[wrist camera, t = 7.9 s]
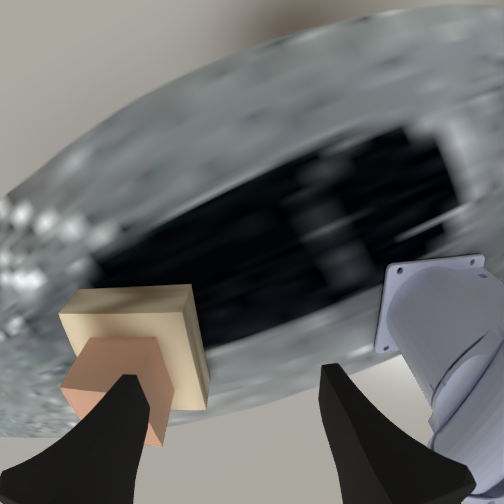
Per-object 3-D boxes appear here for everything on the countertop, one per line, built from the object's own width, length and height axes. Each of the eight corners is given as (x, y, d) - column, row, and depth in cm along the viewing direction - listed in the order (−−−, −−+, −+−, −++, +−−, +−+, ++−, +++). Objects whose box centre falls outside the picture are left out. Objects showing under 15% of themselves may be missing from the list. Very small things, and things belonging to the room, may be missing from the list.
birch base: (191, 283, 21) (182, 312, 18) (210, 378, 25) (206, 409, 21) (79, 289, 21) (58, 313, 18) (112, 376, 25) (100, 404, 22)
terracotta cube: (156, 337, 19) (135, 394, 14) (174, 391, 21) (162, 446, 16) (89, 337, 19) (59, 387, 14) (113, 388, 21) (93, 438, 16)
